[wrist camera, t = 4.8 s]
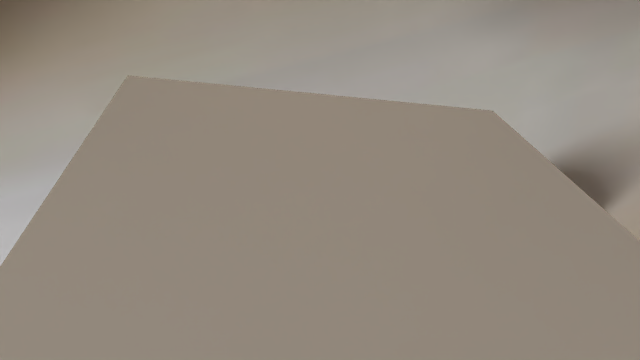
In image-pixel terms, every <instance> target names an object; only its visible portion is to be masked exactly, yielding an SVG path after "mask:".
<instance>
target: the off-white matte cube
mask: <svg viewBox="0 0 640 360" xmlns="http://www.w3.org/2000/svg"><path fill="white" fill-rule="evenodd" d="M0 360H640V241H639V240H638V239H637V238H636V237H635V236H634V235H632V234H631V233H630V232H629V231H628V230H627V229H626V228H625V227H623V226H622V225H621V224H620V223H619V222H618V221H617V220H616V219H614V218H613V217H612V216H611V215H610V214H609V213H608V212H606V211H605V210H604V209H603V208H602V207H601V206H600V205H599V204H597V203H596V202H595V201H594V200H593V199H592V198H591V197H590V196H588V195H587V194H586V193H585V192H584V191H583V190H582V189H580V188H579V187H578V186H577V185H576V184H575V183H574V182H573V181H571V180H570V179H569V178H568V177H567V176H566V175H565V174H564V173H562V172H561V171H560V170H559V169H558V168H557V167H556V166H554V165H553V164H552V163H551V162H550V161H549V160H548V159H547V158H545V157H544V156H543V155H542V154H541V153H540V152H539V151H538V150H536V149H535V148H534V147H533V146H532V145H531V144H530V143H528V142H527V141H526V140H525V139H524V138H523V137H522V136H521V135H519V134H518V133H517V132H516V131H515V130H514V129H513V128H511V127H510V126H509V125H508V124H507V123H506V122H505V121H504V120H502V119H501V118H500V117H499V116H498V115H497V114H496V113H495V112H493V111H490V110H480V109H470V108H459V107H449V106H438V105H428V104H418V103H407V102H397V101H387V100H376V99H366V98H356V97H345V96H335V95H324V94H314V93H304V92H293V91H283V90H273V89H262V88H252V87H241V86H231V85H221V84H210V83H200V82H190V81H179V80H169V79H158V78H148V77H138V76H127V77H126V79H125V80H124V82H123V83H122V85H121V86H120V88H119V89H118V91H117V92H116V94H115V95H114V97H113V98H112V100H111V101H110V103H109V104H108V106H107V107H106V109H105V110H104V112H103V113H102V115H101V116H100V118H99V119H98V121H97V122H96V124H95V125H94V127H93V128H92V130H91V131H90V133H89V134H88V136H87V137H86V139H85V140H84V142H83V143H82V145H81V146H80V148H79V149H78V151H77V152H76V154H75V155H74V157H73V158H72V160H71V161H70V163H69V164H68V166H67V167H66V169H65V170H64V172H63V173H62V175H61V176H60V178H59V179H58V181H57V182H56V184H55V185H54V187H53V188H52V190H51V191H50V193H49V194H48V196H47V197H46V199H45V200H44V202H43V203H42V205H41V206H40V208H39V209H38V211H37V212H36V214H35V215H34V217H33V218H32V220H31V221H30V223H29V224H28V226H27V227H26V229H25V230H24V232H23V233H22V235H21V236H20V238H19V239H18V241H17V242H16V244H15V245H14V247H13V248H12V250H11V251H10V253H9V254H8V256H7V257H6V259H5V260H4V262H3V263H2V265H1V266H0Z"/></svg>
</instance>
